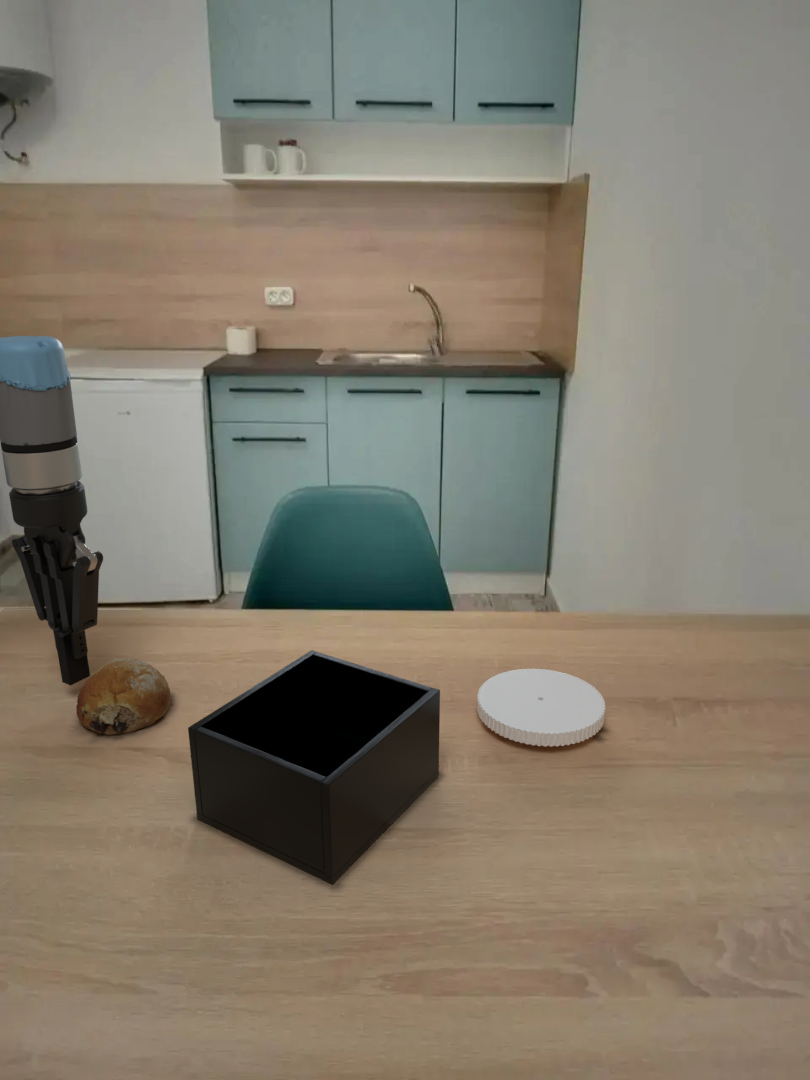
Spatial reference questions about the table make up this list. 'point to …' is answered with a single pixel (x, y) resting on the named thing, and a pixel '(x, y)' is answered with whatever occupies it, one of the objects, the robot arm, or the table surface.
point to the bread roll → (123, 697)
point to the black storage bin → (316, 761)
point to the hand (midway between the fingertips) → (76, 678)
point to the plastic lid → (541, 707)
